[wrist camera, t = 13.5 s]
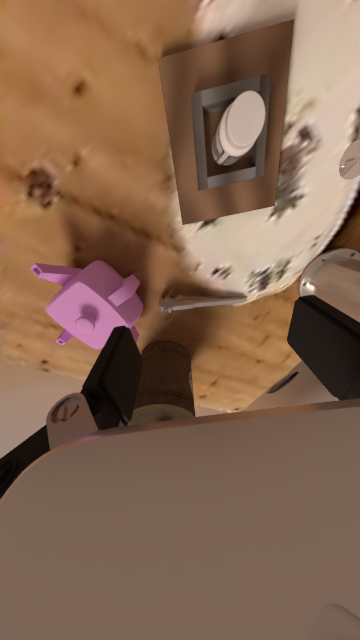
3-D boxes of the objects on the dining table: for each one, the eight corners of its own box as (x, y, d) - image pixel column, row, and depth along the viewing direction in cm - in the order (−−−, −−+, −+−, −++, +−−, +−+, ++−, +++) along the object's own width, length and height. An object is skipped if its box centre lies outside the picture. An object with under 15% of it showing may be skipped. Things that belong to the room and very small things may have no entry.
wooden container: (174, 381, 56) (173, 465, 38) (132, 366, 52) (108, 452, 33) (199, 353, 49) (214, 437, 31) (154, 332, 45) (138, 417, 27)
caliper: (160, 300, 40) (158, 314, 35) (160, 296, 40) (157, 309, 34) (245, 300, 41) (255, 313, 35) (246, 296, 40) (257, 309, 35)
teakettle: (143, 329, 44) (133, 365, 34) (75, 321, 43) (43, 356, 32) (147, 264, 35) (135, 286, 25) (61, 250, 34) (10, 268, 23)
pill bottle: (249, 135, 24) (280, 104, 17) (230, 174, 27) (250, 160, 20) (222, 113, 23) (243, 69, 16) (204, 155, 25) (216, 133, 18)
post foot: (286, 31, 21) (308, -5, 17) (270, 206, 30) (282, 205, 27) (159, 67, 22) (156, 41, 18) (182, 224, 31) (183, 225, 28)
